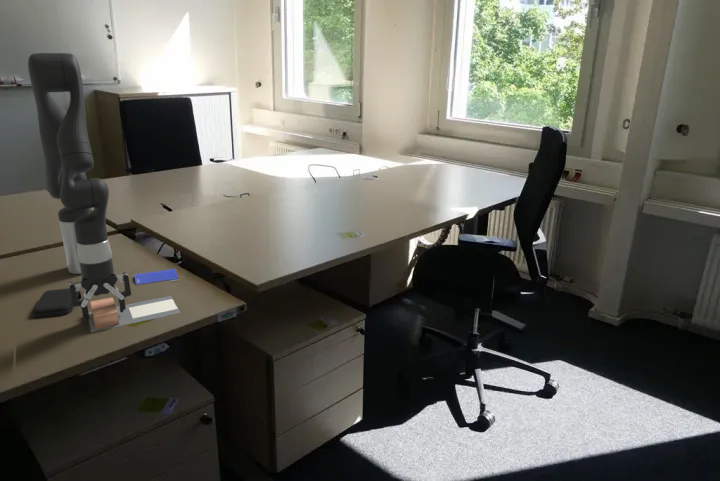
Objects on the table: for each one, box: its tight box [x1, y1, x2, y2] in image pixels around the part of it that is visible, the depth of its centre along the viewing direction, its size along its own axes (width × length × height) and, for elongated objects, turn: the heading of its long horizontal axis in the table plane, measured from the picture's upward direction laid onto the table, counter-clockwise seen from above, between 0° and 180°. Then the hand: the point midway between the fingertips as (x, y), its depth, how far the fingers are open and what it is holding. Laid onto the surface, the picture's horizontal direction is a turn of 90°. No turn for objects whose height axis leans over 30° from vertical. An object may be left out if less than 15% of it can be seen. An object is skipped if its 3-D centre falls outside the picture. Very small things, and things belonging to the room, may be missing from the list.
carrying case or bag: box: [31, 287, 83, 319], centre depth 147 cm, size 11×3×15 cm
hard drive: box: [134, 268, 180, 286], centre depth 166 cm, size 2×8×12 cm
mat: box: [87, 295, 182, 333], centre depth 144 cm, size 12×22×1 cm, turn 120°
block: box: [89, 296, 119, 329], centre depth 140 cm, size 10×6×4 cm, turn 30°
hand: (104, 314), depth 140 cm, fingers open, 7 cm apart
